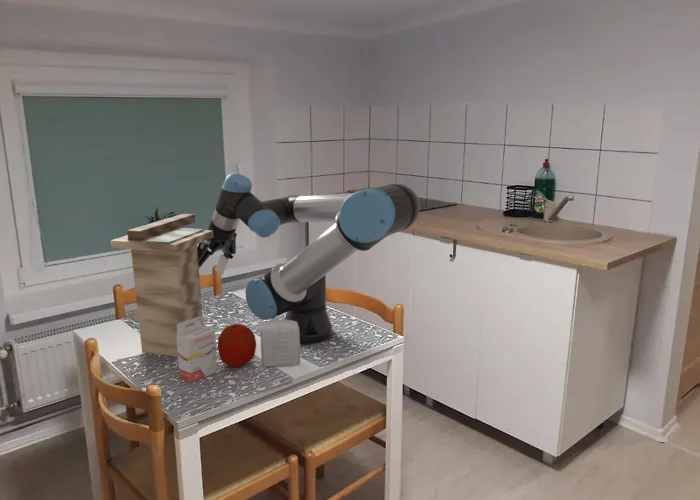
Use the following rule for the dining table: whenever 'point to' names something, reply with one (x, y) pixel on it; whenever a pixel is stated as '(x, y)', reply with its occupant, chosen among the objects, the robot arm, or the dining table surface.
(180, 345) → the ink cartridge box
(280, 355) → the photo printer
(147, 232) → the walnut strip
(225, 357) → the apple
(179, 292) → the oak stand
